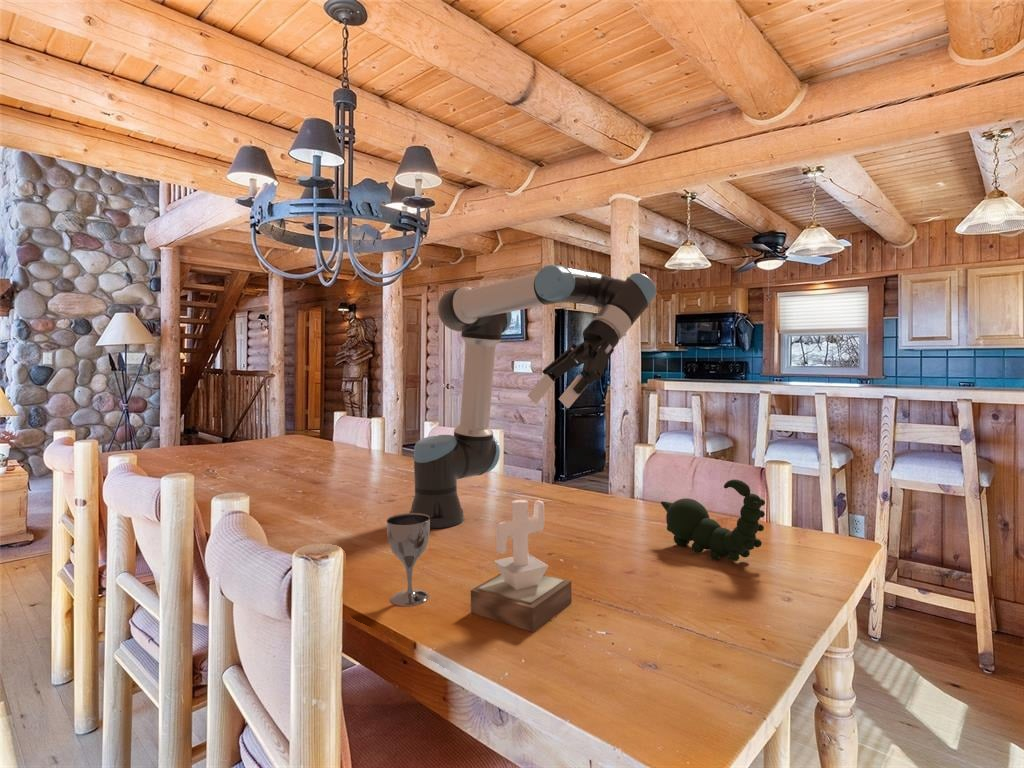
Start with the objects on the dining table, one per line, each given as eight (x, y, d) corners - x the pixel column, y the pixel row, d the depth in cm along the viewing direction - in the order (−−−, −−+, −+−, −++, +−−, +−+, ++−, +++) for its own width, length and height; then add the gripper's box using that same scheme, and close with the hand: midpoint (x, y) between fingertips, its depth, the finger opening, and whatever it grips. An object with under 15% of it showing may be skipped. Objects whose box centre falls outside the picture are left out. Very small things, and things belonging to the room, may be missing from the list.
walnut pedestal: (471, 612, 96) (470, 588, 96) (512, 586, 106) (512, 565, 106) (533, 632, 88) (533, 606, 88) (571, 602, 99) (571, 579, 99)
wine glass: (412, 585, 108) (410, 510, 107) (440, 596, 103) (438, 517, 102) (379, 599, 102) (377, 520, 101) (407, 611, 97) (405, 527, 96)
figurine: (488, 581, 99) (487, 499, 98) (533, 571, 103) (532, 492, 102) (507, 596, 92) (506, 508, 92) (554, 584, 97) (553, 501, 96)
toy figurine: (767, 571, 117) (671, 531, 138) (775, 483, 115) (676, 456, 136) (741, 581, 112) (645, 538, 132) (749, 490, 109) (650, 461, 130)
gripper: (653, 340, 110) (591, 418, 104) (585, 344, 132) (530, 409, 126) (631, 313, 107) (566, 391, 101) (566, 322, 130) (509, 387, 124)
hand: (546, 401), depth 114 cm, fingers open, 13 cm apart
